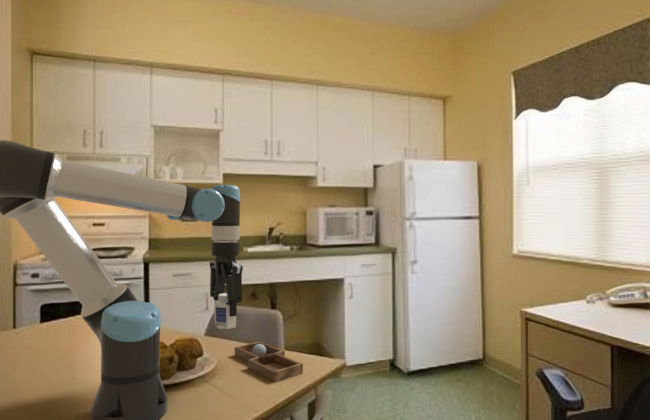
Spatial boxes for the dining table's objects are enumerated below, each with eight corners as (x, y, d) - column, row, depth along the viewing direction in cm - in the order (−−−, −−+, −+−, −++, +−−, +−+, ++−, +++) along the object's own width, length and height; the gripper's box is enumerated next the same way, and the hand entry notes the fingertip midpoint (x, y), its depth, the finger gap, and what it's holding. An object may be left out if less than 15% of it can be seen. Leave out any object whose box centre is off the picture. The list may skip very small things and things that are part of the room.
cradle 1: (258, 368, 123) (258, 357, 123) (234, 357, 132) (234, 347, 132) (284, 361, 129) (284, 351, 129) (259, 350, 138) (259, 341, 138)
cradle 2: (275, 383, 112) (275, 372, 112) (247, 370, 121) (248, 359, 121) (302, 375, 118) (302, 364, 118) (274, 362, 127) (274, 352, 127)
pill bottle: (230, 329, 117) (230, 296, 117) (212, 328, 118) (212, 295, 118) (238, 324, 122) (238, 292, 122) (220, 323, 123) (220, 292, 123)
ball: (257, 360, 128) (257, 347, 128) (249, 357, 131) (250, 343, 131) (268, 357, 130) (268, 344, 130) (261, 354, 133) (261, 341, 133)
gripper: (256, 242, 116) (255, 329, 116) (220, 238, 129) (220, 317, 129) (231, 243, 110) (231, 335, 110) (197, 240, 124) (196, 321, 124)
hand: (225, 325), depth 120 cm, fingers closed on pill bottle, 5 cm apart
